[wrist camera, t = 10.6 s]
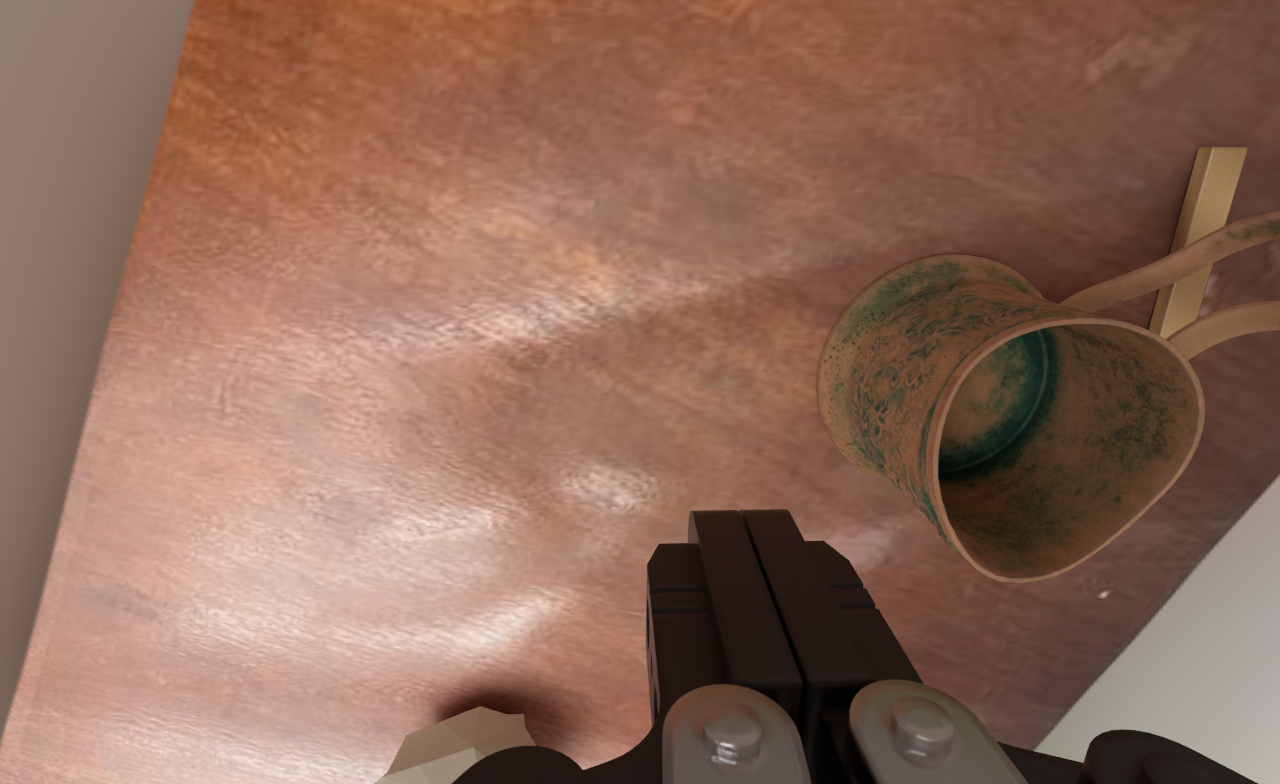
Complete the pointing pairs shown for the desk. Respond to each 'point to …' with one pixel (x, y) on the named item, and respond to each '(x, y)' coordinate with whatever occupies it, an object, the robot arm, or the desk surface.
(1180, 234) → the spoon
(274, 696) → the desk surface
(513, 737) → the faceted club
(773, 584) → the robot arm
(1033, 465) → the mug
